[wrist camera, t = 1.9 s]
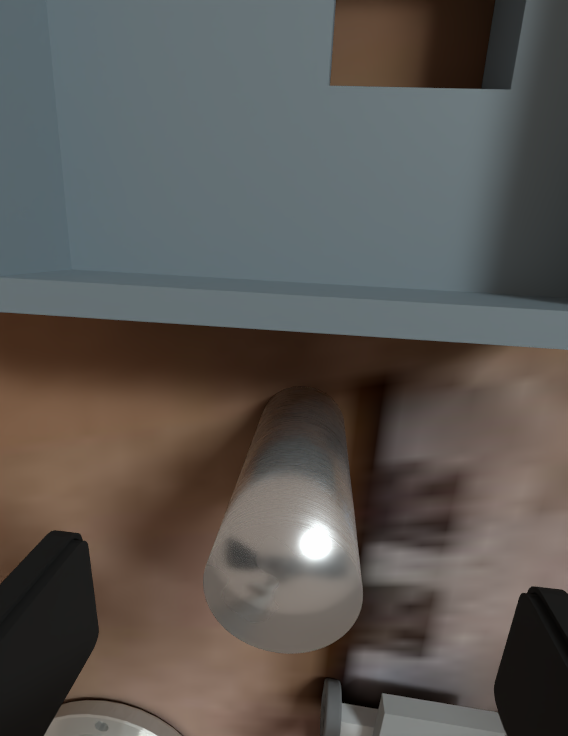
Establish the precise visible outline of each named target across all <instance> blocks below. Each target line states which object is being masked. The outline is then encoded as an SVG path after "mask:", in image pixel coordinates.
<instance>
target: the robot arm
mask: <svg viewBox="0 0 568 736" xmlns="http://www.w3.org/2000/svg"><path fill="white" fill-rule="evenodd" d="M98 633H99V627H98V620H97V612H96V604H95V596H94V588H93V580H92V572H91V564H90V556H89V548H88V543H87V542H86V541H83V540H82V536H81V535H80V534H79V533H72V532H64V531H55V530H54V531H51V532H50V533H48V534H47V535H46V536H45V537H44V538H43V539H42V540H41V542H40V543H39V544H38V545H37V546H36V547H35V548H34V549H33V550H32V551H31V552H30V553H29V554H28V555H27V556H26V557H25V559H24V560H23V561H22V562H21V563H20V564H19V565H18V566H17V567H16V568H15V569H14V570H13V571H12V572H11V573H10V574H9V576H8V577H7V578H6V579H5V580H4V581H3V582H2V583H1V584H0V736H182V735H181V734H180V733H178V732H177V731H176V730H175V729H174V728H173V727H171V726H170V725H168V724H167V723H165V722H164V721H162V720H161V719H159V718H158V717H156V716H153V715H151V714H149V713H147V712H145V711H143V710H141V709H138V708H134V707H131V706H128V705H125V704H121V703H116V702H110V701H103V700H83V701H75V702H69V703H66V704H63V705H62V703H63V701H64V700H65V698H66V696H67V694H68V693H69V691H70V689H71V687H72V686H73V684H74V682H75V680H76V679H77V677H78V675H79V673H80V672H81V670H82V668H83V666H84V665H85V663H86V661H87V659H88V658H89V656H90V654H91V652H92V651H93V649H94V647H95V644H96V642H97V638H98ZM494 695H495V701H496V705H497V708H498V711H499V714H500V717H501V720H502V723H503V725H504V728H505V731H506V734H507V736H568V594H567V593H566V592H565V591H563V590H560V589H551V588H543V587H531V588H529V590H528V592H527V593H522V594H521V595H520V597H519V600H518V604H517V607H516V611H515V614H514V618H513V621H512V625H511V628H510V632H509V635H508V638H507V642H506V645H505V649H504V652H503V656H502V659H501V663H500V666H499V670H498V673H497V677H496V680H495V685H494Z"/></svg>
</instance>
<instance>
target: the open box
mask: <svg viewBox="0 0 568 736" xmlns="http://www.w3.org/2000/svg"><path fill="white" fill-rule="evenodd" d="M335 4H336V0H0V312H7V313H22V314H37V315H52V316H67V317H83V318H98V319H113V320H128V321H143V322H158V323H173V324H188V325H203V326H219V327H234V328H249V329H264V330H279V331H294V332H309V333H324V334H340V335H355V336H370V337H385V338H400V339H415V340H430V341H445V342H461V343H476V344H491V345H506V346H521V347H536V348H551V349H566V350H568V0H495V6H494V13H493V19H492V25H491V31H490V38H489V44H488V50H487V56H486V63H485V69H484V75H483V81H482V88H481V89H456V88H409V87H361V86H330V76H331V62H332V47H333V33H334V18H335Z"/></svg>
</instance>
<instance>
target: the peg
mask: <svg viewBox="0 0 568 736" xmlns="http://www.w3.org/2000/svg"><path fill="white" fill-rule="evenodd" d="M203 587H204V594H205V598H206V601H207V603H208V606H209V608H210V610H211V612H212V613H213V615H214V616H215V618H216V619H217V620H218V622H219V623H220V624H221V625H222V626H223V627H224V628H225V629H226V630H227V631H228V632H230V633H231V634H232V635H233V636H235V637H237V638H238V639H240V640H241V641H243V642H245V643H247V644H249V645H251V646H254V647H257V648H259V649H263V650H266V651H271V652H277V653H288V654H289V653H304V652H310V651H314V650H317V649H320V648H323V647H326V646H328V645H329V644H331V643H333V642H335V641H336V640H338V639H339V638H341V637H342V636H343V635H344V634H345V633H346V632H348V630H349V629H350V628H351V627H352V626H353V624H354V623H355V621H356V619H357V617H358V615H359V612H360V610H361V606H362V601H363V589H362V580H361V571H360V562H359V553H358V544H357V535H356V526H355V517H354V508H353V499H352V490H351V481H350V472H349V463H348V454H347V445H346V436H345V427H344V419H343V415H342V412H341V410H340V408H339V406H338V405H337V404H336V402H335V401H334V400H333V399H332V398H331V397H330V396H328V395H327V394H326V393H324V392H322V391H320V390H318V389H315V388H311V387H303V386H299V387H292V388H288V389H285V390H283V391H281V392H279V393H277V394H276V395H275V396H274V397H272V398H271V399H270V401H269V402H268V403H267V405H266V406H265V408H264V410H263V413H262V416H261V418H260V421H259V424H258V426H257V429H256V432H255V434H254V437H253V440H252V443H251V445H250V448H249V451H248V453H247V456H246V459H245V462H244V464H243V467H242V470H241V472H240V475H239V478H238V480H237V483H236V486H235V489H234V491H233V494H232V497H231V499H230V502H229V505H228V507H227V510H226V513H225V516H224V518H223V521H222V524H221V526H220V529H219V532H218V534H217V537H216V540H215V543H214V545H213V548H212V551H211V553H210V556H209V559H208V561H207V564H206V567H205V571H204V578H203Z"/></svg>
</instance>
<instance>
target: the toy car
mask: <svg viewBox="0 0 568 736" xmlns="http://www.w3.org/2000/svg"><path fill="white" fill-rule="evenodd" d="M320 736H507V734H506V731H505V730H504V728H503V725H502V722H501V720H500V717H499V714H498V712H493V711H487V710H481V709H475V708H469V707H463V706H457V705H450V704H444V703H438V702H432V701H426V700H420V699H414V698H408V697H402V696H396V695H390V694H384V693H382V696H381V700H380V705H379V709H374V708H368V707H362V706H356V705H350V704H345V703H342V692H341V684H340V681H339V680H336V679H330V678H326V679H325V682H324V688H323V694H322V702H321V719H320Z"/></svg>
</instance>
